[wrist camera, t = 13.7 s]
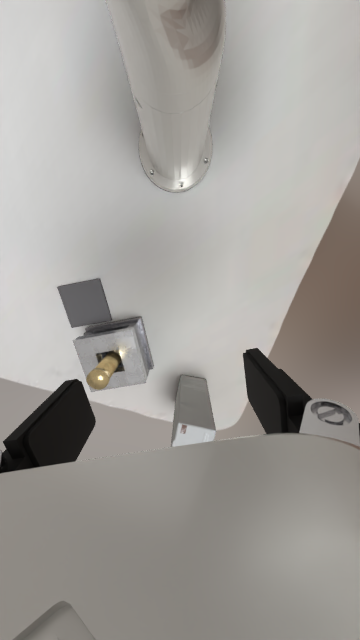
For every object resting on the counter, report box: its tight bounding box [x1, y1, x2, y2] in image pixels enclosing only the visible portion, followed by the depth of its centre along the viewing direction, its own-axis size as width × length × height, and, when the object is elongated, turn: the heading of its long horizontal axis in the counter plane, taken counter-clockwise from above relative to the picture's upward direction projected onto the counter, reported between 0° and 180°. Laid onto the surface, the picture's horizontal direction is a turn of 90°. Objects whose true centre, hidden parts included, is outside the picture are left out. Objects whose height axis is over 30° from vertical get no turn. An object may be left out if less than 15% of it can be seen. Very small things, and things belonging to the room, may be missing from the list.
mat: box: [57, 279, 112, 328], centre depth 40 cm, size 9×9×1 cm
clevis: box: [73, 317, 154, 392], centre depth 39 cm, size 12×12×8 cm
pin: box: [86, 350, 122, 390], centre depth 35 cm, size 3×3×12 cm
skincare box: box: [171, 375, 216, 447], centre depth 38 cm, size 8×7×16 cm
